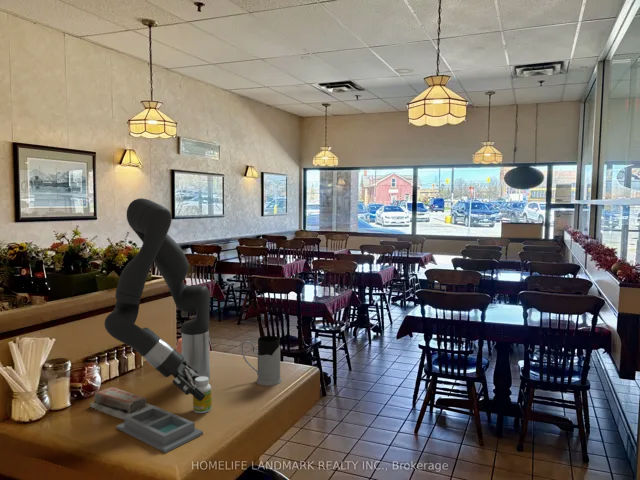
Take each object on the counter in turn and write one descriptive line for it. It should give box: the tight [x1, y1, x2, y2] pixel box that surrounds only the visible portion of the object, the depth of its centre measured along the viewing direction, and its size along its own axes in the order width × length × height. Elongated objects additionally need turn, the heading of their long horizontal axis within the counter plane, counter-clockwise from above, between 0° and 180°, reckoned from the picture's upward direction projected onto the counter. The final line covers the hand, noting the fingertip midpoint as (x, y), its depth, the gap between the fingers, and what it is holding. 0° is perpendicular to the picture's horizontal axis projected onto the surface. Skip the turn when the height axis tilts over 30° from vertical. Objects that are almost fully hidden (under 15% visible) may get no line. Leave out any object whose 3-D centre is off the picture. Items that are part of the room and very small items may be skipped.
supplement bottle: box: [192, 376, 213, 414], centre depth 148 cm, size 5×5×10 cm
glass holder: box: [241, 335, 283, 386], centre depth 171 cm, size 9×14×15 cm, turn 80°
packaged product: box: [89, 386, 155, 420], centre depth 150 cm, size 18×5×10 cm
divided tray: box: [116, 405, 204, 454], centre depth 135 cm, size 22×12×3 cm, turn 54°
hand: (204, 392), depth 148 cm, fingers open, 8 cm apart
